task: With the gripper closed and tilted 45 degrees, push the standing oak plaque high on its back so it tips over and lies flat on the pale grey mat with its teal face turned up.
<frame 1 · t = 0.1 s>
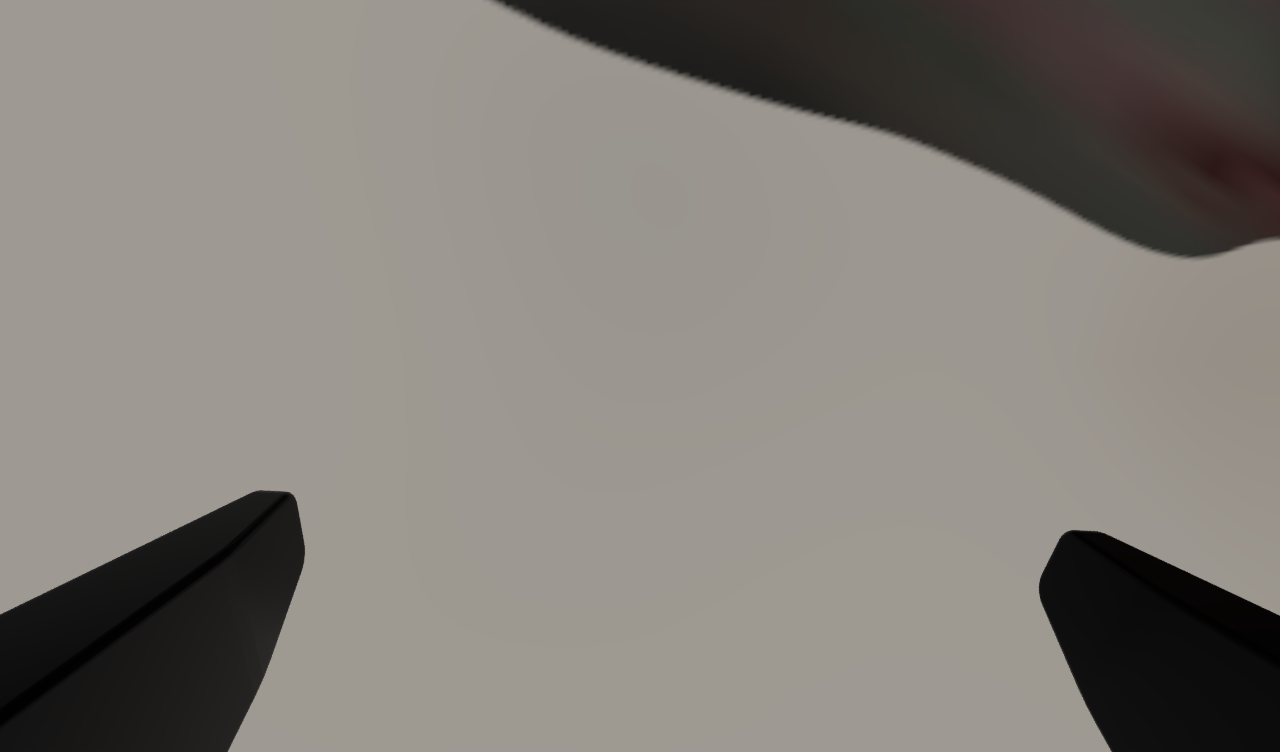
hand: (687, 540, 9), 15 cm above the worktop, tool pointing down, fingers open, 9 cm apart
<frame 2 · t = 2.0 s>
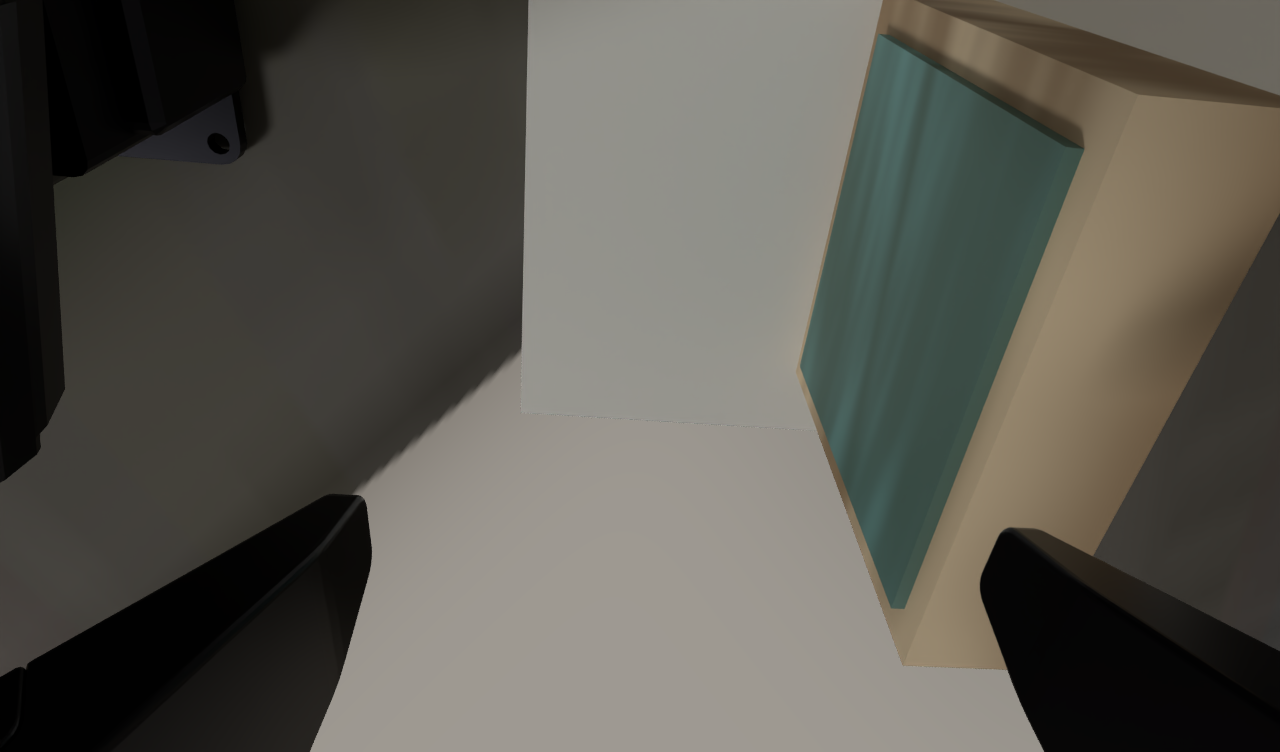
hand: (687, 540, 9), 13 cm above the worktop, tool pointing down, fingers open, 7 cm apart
mat: (893, 202, 21), on the worktop
plaque: (880, 209, 20), point 1 cm above the worktop, touching mat
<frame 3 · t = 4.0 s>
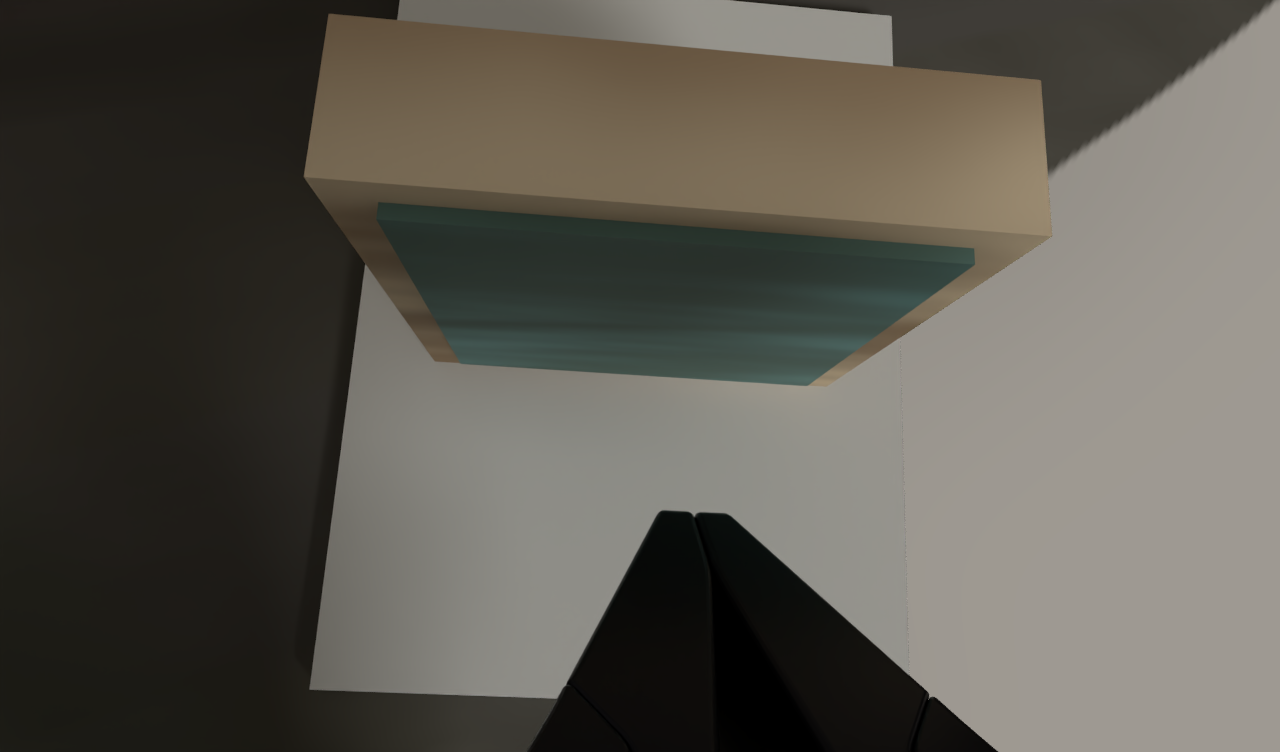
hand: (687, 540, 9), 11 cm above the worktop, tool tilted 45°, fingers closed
mat: (635, 317, 21), on the worktop
plaque: (636, 328, 21), point 1 cm above the worktop, touching mat
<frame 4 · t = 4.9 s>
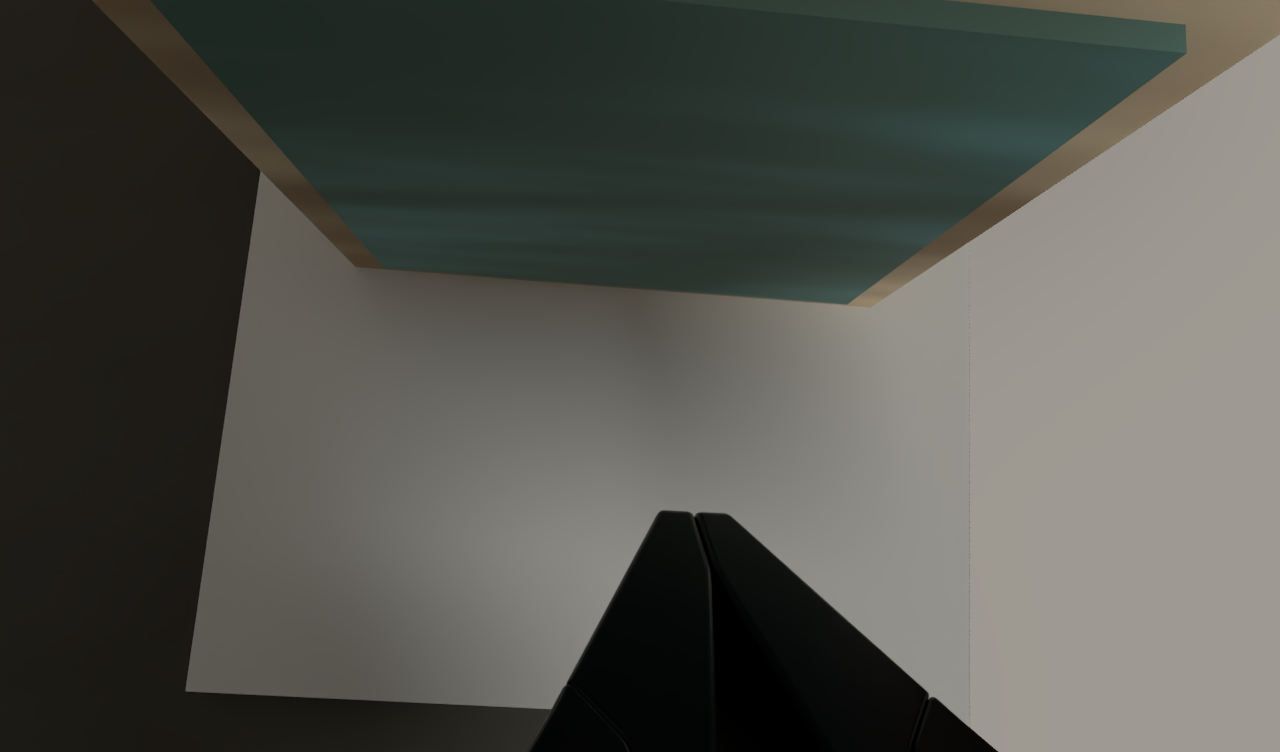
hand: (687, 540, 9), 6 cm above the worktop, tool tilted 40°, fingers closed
mat: (622, 214, 16), on the worktop
plaque: (622, 228, 16), point 1 cm above the worktop, touching mat
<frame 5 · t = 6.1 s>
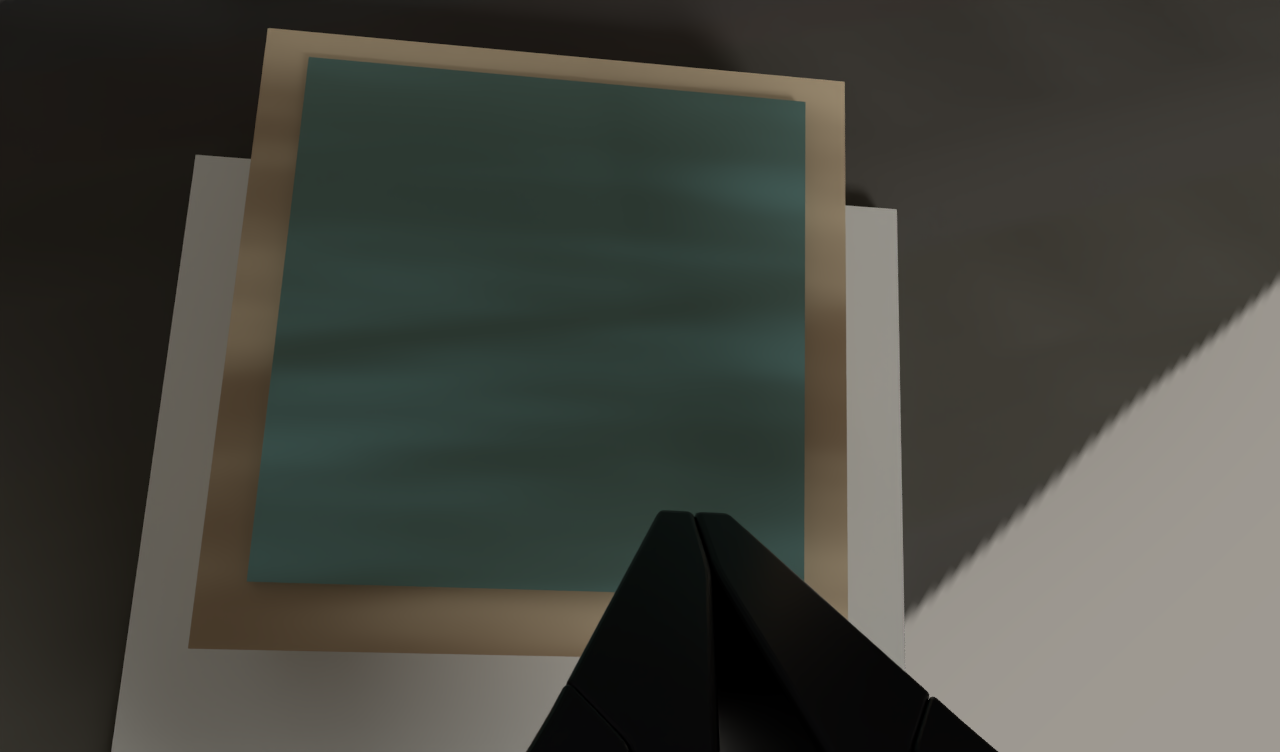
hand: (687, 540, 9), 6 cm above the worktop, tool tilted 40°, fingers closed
mat: (533, 673, 15), on the worktop
plaque: (533, 643, 13), point 2 cm above the worktop, tilted 90°, touching mat
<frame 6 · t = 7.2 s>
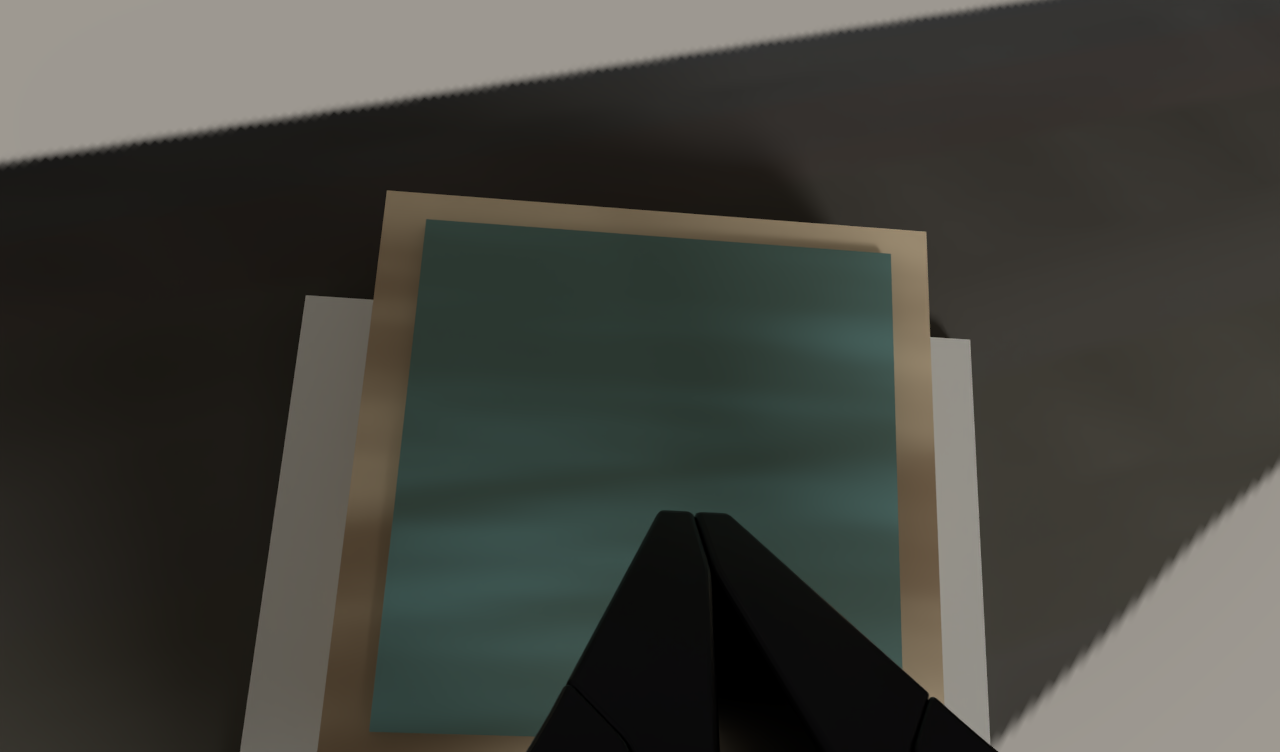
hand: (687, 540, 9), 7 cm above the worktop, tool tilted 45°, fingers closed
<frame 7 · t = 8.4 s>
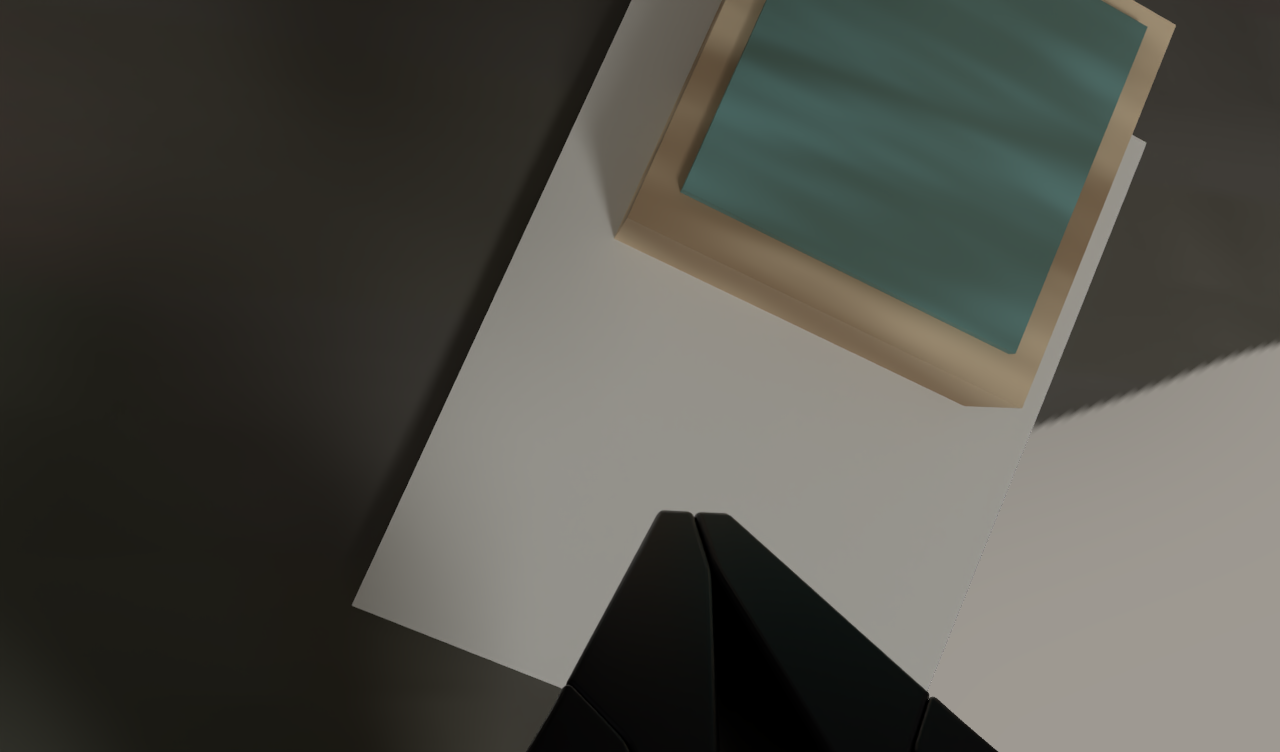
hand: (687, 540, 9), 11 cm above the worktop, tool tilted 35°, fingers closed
mat: (774, 356, 21), on the worktop
plaque: (812, 321, 19), point 2 cm above the worktop, tilted 90°, touching mat
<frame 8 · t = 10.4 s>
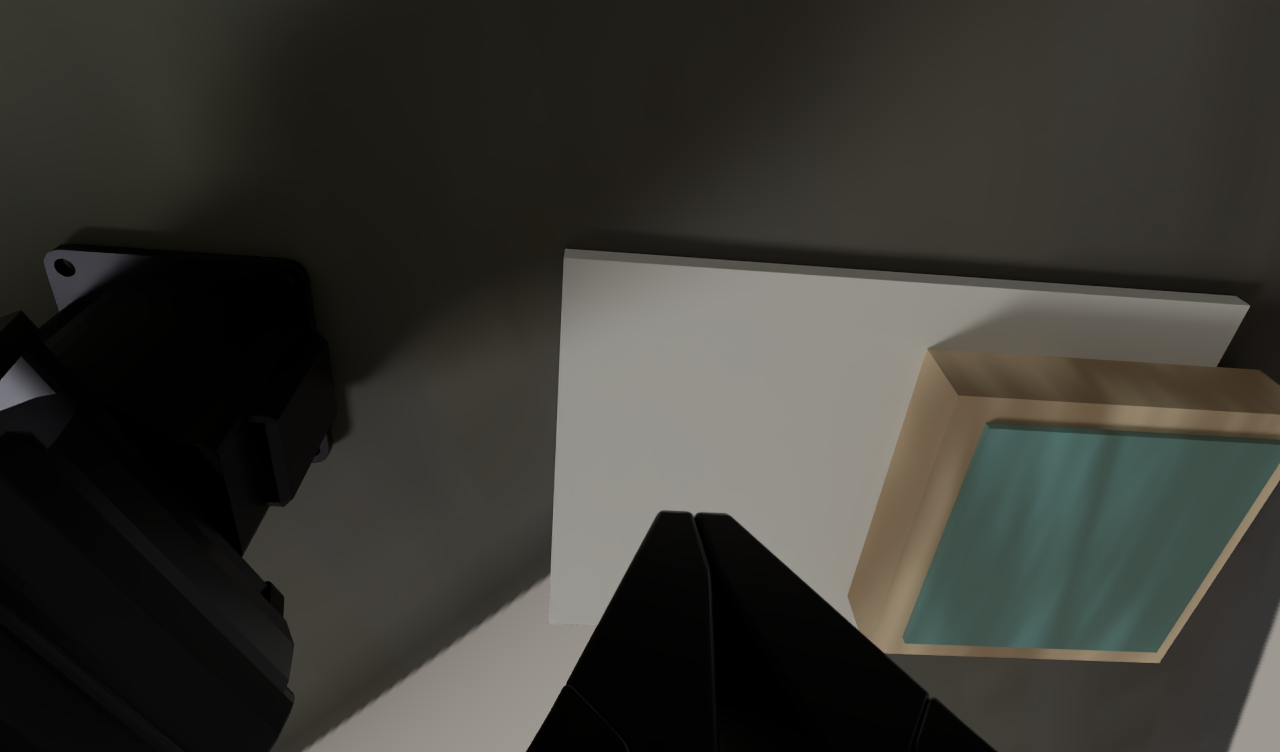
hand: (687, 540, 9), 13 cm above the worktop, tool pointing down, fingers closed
mat: (852, 471, 26), on the worktop
plaque: (894, 510, 24), point 2 cm above the worktop, tilted 90°, touching mat
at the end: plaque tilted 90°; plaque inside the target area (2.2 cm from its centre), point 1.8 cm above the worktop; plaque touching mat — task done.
